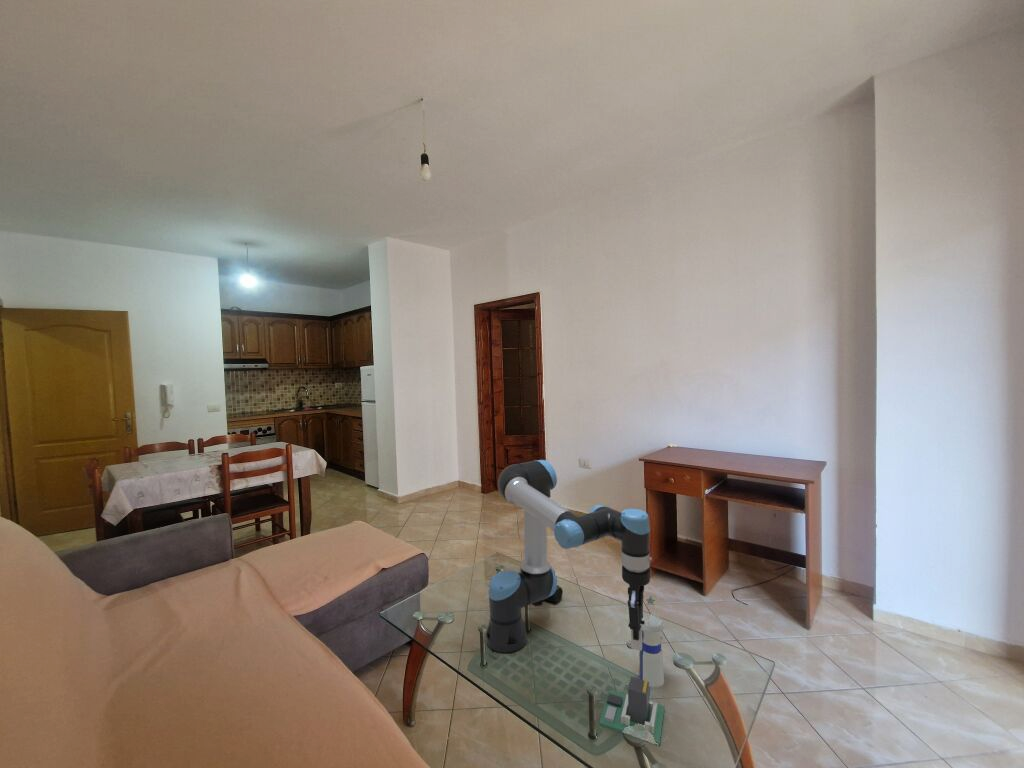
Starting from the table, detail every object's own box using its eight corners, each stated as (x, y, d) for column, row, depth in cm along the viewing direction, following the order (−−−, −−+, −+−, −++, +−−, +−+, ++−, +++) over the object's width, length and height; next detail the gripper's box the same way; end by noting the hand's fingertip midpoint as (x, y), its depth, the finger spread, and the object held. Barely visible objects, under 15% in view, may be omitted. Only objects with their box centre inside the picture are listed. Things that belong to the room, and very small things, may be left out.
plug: (628, 720, 117) (627, 687, 116) (631, 706, 121) (630, 675, 121) (647, 726, 115) (646, 693, 114) (649, 712, 119) (648, 680, 119)
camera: (548, 612, 172) (547, 589, 171) (528, 604, 178) (527, 581, 178) (568, 595, 184) (567, 573, 183) (549, 588, 190) (548, 567, 190)
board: (599, 726, 116) (598, 715, 116) (609, 693, 128) (609, 683, 128) (659, 747, 109) (659, 735, 109) (664, 710, 121) (664, 699, 121)
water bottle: (633, 670, 138) (631, 595, 137) (658, 667, 138) (656, 593, 137) (642, 689, 129) (640, 610, 128) (669, 686, 130) (667, 608, 129)
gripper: (646, 580, 109) (647, 667, 110) (652, 558, 121) (653, 637, 122) (617, 574, 112) (618, 659, 113) (626, 554, 124) (627, 630, 125)
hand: (636, 647), depth 117 cm, fingers closed
